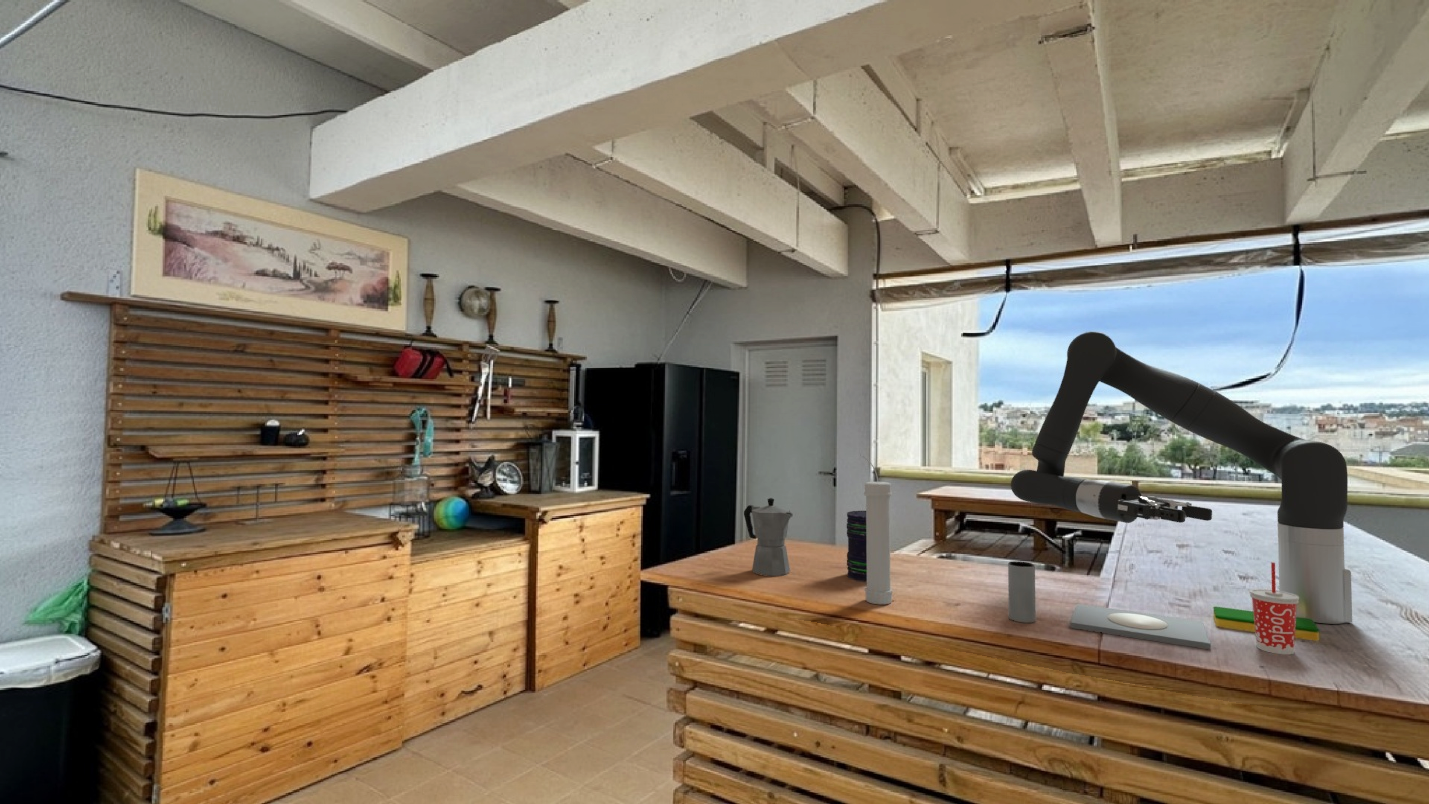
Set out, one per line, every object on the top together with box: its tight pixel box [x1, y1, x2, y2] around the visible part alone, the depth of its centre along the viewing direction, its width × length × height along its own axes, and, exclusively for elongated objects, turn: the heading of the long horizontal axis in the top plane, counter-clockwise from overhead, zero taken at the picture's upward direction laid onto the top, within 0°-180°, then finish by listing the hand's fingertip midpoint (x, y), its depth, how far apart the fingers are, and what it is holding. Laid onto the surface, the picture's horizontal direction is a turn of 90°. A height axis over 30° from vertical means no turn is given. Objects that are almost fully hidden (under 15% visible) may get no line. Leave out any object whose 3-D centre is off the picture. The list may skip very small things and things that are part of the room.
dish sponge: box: [1212, 606, 1320, 642], centre depth 116 cm, size 7×14×2 cm, turn 55°
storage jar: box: [846, 510, 867, 583], centre depth 154 cm, size 10×10×15 cm
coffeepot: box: [743, 497, 793, 577], centre depth 160 cm, size 15×9×18 cm, turn 44°
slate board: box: [1069, 603, 1212, 651], centre depth 117 cm, size 20×14×1 cm
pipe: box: [860, 454, 893, 606], centre depth 133 cm, size 6×6×30 cm
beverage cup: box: [1248, 562, 1299, 656], centre depth 106 cm, size 6×6×14 cm
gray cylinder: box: [1007, 560, 1037, 624], centre depth 121 cm, size 4×4×10 cm
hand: (1197, 515), depth 116 cm, fingers open, 8 cm apart
